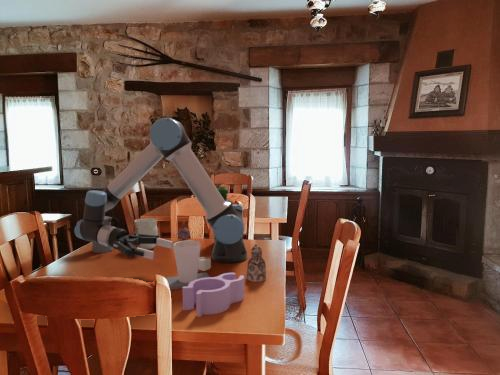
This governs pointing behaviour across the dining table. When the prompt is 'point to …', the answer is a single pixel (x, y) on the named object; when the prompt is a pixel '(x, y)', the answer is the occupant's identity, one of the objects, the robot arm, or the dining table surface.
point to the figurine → (256, 266)
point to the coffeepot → (99, 247)
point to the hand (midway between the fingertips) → (163, 250)
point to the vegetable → (183, 233)
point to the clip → (213, 293)
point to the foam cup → (187, 259)
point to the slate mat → (176, 284)
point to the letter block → (204, 263)
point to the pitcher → (146, 230)
